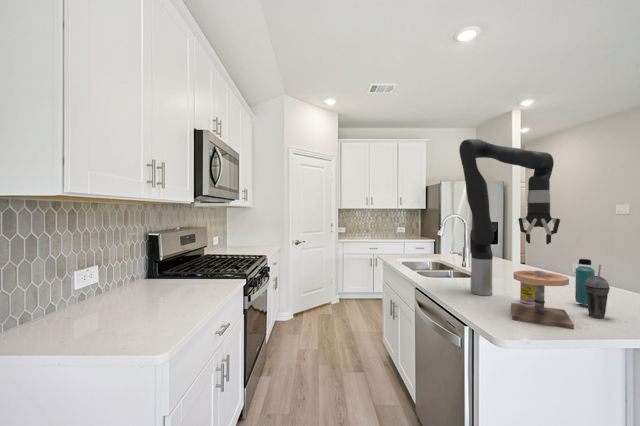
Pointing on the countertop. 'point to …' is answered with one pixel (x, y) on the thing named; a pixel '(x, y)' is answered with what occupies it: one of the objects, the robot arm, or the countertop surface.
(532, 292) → the supplement bottle
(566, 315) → the pipe stand
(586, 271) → the beverage bottle
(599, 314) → the beverage cup
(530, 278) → the collar
